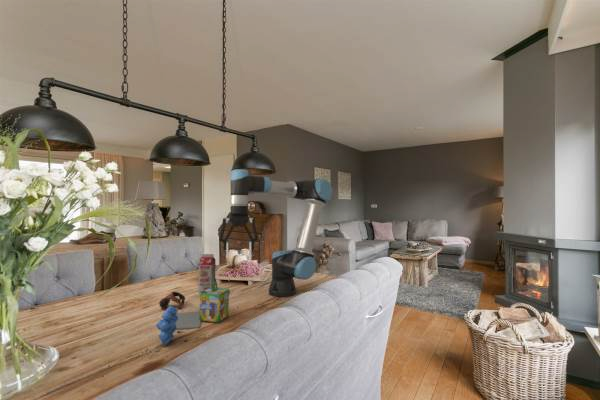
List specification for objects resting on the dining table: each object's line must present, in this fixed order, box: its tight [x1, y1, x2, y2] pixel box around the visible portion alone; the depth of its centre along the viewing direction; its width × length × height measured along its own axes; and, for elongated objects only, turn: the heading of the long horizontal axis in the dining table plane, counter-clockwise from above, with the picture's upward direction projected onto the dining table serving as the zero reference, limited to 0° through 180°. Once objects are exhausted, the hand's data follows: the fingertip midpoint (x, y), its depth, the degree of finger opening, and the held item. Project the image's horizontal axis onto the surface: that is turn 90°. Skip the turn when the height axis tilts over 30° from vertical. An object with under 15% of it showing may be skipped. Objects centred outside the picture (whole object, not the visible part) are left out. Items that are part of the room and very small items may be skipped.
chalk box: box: [199, 281, 230, 323], centre depth 123 cm, size 9×9×15 cm
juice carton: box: [197, 253, 216, 299], centre depth 154 cm, size 7×7×22 cm
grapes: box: [155, 305, 179, 346], centre depth 102 cm, size 12×7×12 cm, turn 3°
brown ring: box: [158, 291, 186, 311], centre depth 134 cm, size 12×10×8 cm
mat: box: [159, 311, 202, 332], centre depth 120 cm, size 14×17×1 cm
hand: (238, 257), depth 125 cm, fingers open, 9 cm apart
